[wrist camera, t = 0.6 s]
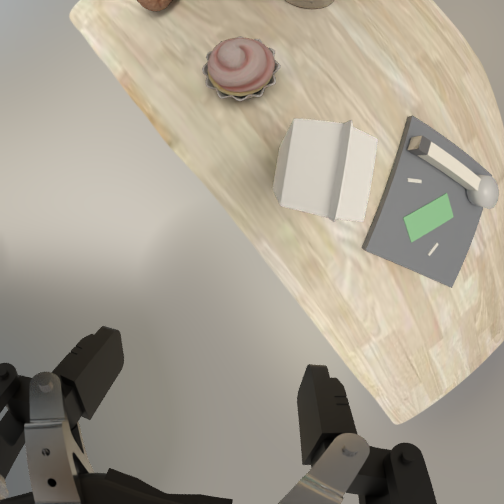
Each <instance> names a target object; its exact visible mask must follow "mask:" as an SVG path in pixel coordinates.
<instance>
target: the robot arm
mask: <svg viewBox="0 0 504 504" xmlns="http://www.w3.org/2000/svg"><path fill="white" fill-rule="evenodd" d="M286 1H287V2H289V3H291V4H293V5H296V6H298V7H303V8H310V9H317V8H323V7H326V6H328V5H330V4H331V3H332V2H333V1H334V0H286ZM123 364H124V354H123V348H122V342H121V334H120V332H119V331H118V330H116V329H112V328H108V327H105V326H102V327H101V328H100V329H99V330H98V331H97V332H96V334H95V335H93V334H90V335H88V336H86V337H84V338H83V339H82V340H80V342H79V343H78V344H77V345H76V347H74V348H73V349H72V350H71V353H69V354H68V355H67V356H66V357H65V358H64V359H63V360H62V361H61V362H60V364H59V365H58V366H57V367H56V368H55V369H54V370H53V372H41V373H38V374H36V375H35V376H34V377H33V378H30V377H25V376H20V375H18V374H17V371H16V369H15V367H14V366H13V365H11V364H9V363H1V364H0V412H1V411H2V410H3V408H4V407H5V406H6V407H7V408H8V411H7V413H6V414H5V416H4V417H3V418H2V420H1V421H0V504H232V499H226V498H219V497H212V496H206V495H201V494H197V495H195V494H192V495H191V494H188V495H187V494H167V493H164V492H162V491H160V490H158V489H156V488H154V487H152V486H150V485H148V484H146V483H145V482H143V481H141V480H139V479H138V478H135V477H132V476H130V475H127V474H124V473H121V472H119V471H116V470H114V469H111V468H109V470H108V472H107V474H105V473H94V471H93V468H92V466H91V464H90V462H89V460H88V457H87V453H86V450H85V446H84V442H83V438H82V433H81V429H80V425H79V422H78V420H79V419H80V417H81V416H82V417H84V418H87V419H89V420H90V419H91V418H92V416H93V414H94V413H95V411H96V409H97V408H98V406H99V405H100V403H101V401H102V400H103V398H104V397H105V395H106V393H107V392H108V390H109V389H110V387H111V385H112V384H113V382H114V381H115V379H116V378H117V376H118V374H119V373H120V371H121V370H122V367H123ZM297 405H298V416H299V425H300V426H299V427H300V437H301V438H300V439H301V451H302V464H303V465H311V469H310V471H309V472H308V473H307V474H306V475H305V476H304V477H303V478H302V479H301V480H300V481H299V482H298V483H297V484H296V485H295V486H294V487H293V489H292V490H291V491H290V492H289V493H288V494H287V495H286V496H285V497H284V498H283V499H282V500H281V501H280V502H279V503H278V504H341V502H342V501H343V495H344V494H345V492H346V493H352V494H358V496H359V504H437V503H436V499H435V495H434V491H433V488H432V484H431V481H430V477H429V475H428V471H427V468H426V464H425V461H424V458H423V455H422V453H421V451H420V450H419V449H418V448H417V447H416V446H415V445H413V444H410V443H400V444H398V445H396V446H395V447H394V448H393V449H392V450H387V449H380V448H375V447H372V446H369V445H368V443H367V441H366V440H365V439H364V438H363V437H361V436H359V435H358V434H357V431H356V428H355V424H354V420H353V417H352V413H351V409H350V406H349V402H348V399H347V398H346V392H345V389H344V386H343V385H342V384H341V383H340V381H339V380H338V379H337V378H330V377H329V372H328V369H327V366H324V365H310V364H309V365H308V366H307V368H306V371H305V374H304V377H303V380H302V382H301V385H300V388H299V391H298V397H297ZM24 444H25V445H26V454H27V462H28V469H29V475H30V481H31V486H32V492H29V493H26V494H22V495H18V496H14V497H11V498H6V497H7V496H8V494H9V492H8V490H7V488H6V482H5V478H6V476H7V474H8V473H9V471H10V469H11V467H12V465H13V463H14V461H15V459H16V458H17V456H18V454H19V452H20V450H21V449H22V447H23V445H24ZM5 498H6V499H5Z"/></svg>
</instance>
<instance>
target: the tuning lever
mask: <svg viewBox="0 0 504 504" xmlns="http://www.w3.org/2000/svg"><path fill="white" fill-rule="evenodd" d="M408 151H409V152H411V153H413V154H414V155H417V156H419V157H420V158H422V159H423V160H425V161H427V162H428V163H430V164H431V165H433V166H434V167H436V168H437V169H439V170H440V171H442V172H443V173H445V174H446V175H448V176H449V177H451V178H452V179H453V180H455V181H456V182H458V183H459V184H460V185H462V186H463V187H464V188H466V189H467V196H468V199H469V201H470V202H471V203H472V204H473V205H476V206H480V207H484V208H488V209H491V208H493V207H494V206H495V205H496V203H497V201H498V196H499V189H498V185H497V182H496V180H495V179H494V178H493V177H492V176H486V175H477V174H474V173H473V172H472V171H471V170H470V169H468V168H467V167H466V166H464V165H463V164H462V163H461V162H459V161H458V160H457V159H455V158H454V157H453V156H451V155H450V154H448V153H447V152H446V151H444V150H443V149H441V148H440V147H438V146H437V145H436V144H434V143H433V142H431V141H430V140H429V139H427V138H426V137H424V136H423V135H421V136H415V137H411V140H410V143H409V147H408Z"/></svg>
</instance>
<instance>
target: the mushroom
mask: <svg viewBox="0 0 504 504" xmlns="http://www.w3.org/2000/svg"><path fill="white" fill-rule="evenodd" d="M137 1H138V2H139V3H140V4H141V5H142V6H143V7H144V8H146V9H148V10H151V11H160V10H163V9H165V8H166V7H167V6H168V5H169V4H170V3H171V1H172V0H137Z"/></svg>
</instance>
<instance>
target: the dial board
mask: <svg viewBox="0 0 504 504" xmlns="http://www.w3.org/2000/svg"><path fill="white" fill-rule="evenodd" d="M421 135H423V136H424V137H426V138H427V139H429V140H430V141H431V142H433V143H434V144H436V145H437V146H438V147H440V148H441V149H443V150H444V151H446V152H447V153H448V154H450V155H451V156H453V157H454V158H455V159H457V160H458V161H459V162H461V163H462V164H463V165H464V166H466V167H467V168H468V169H470V170H471V171H472V172H473V173H474V174H477V175H486V176H492V175H491V174H490V173H489V172H488V171H487V170H486V169H484V168H483V167H482V166H481V165H480V164H479V163H477V162H476V161H475V160H474V159H473V158H471V157H470V156H469V155H468V154H466V153H465V152H464V151H463V150H461V149H460V148H459V147H458V146H456V145H455V144H454V143H452V142H451V141H450V140H448V139H447V138H445V137H444V136H443V135H441V134H440V133H438V132H437V131H435V130H434V129H433V128H431V127H430V126H428V125H427V124H425V123H423V122H422V121H420V120H419V119H417V118H416V117H414V116H410V117H408V118H407V122H406V125H405V129H404V132H403V136H402V139H401V143H400V146H399V149H398V152H397V156H396V159H395V162H394V165H393V168H392V171H391V174H390V177H389V180H388V183H387V185H386V188H385V191H384V194H383V196H382V199H381V202H380V204H379V207H378V210H377V212H376V215H375V217H374V220H373V222H372V225H371V227H370V230H369V232H368V235H367V237H366V240H365V242H364V244H363V247H362V248H363V249H364V250H365V251H367V252H370V253H372V254H375V255H377V256H380V257H382V258H385V259H387V260H389V261H392V262H394V263H396V264H399V265H401V266H403V267H406V268H408V269H410V270H413V271H415V272H417V273H420V274H422V275H424V276H426V277H429V278H431V279H433V280H435V281H438V282H440V283H442V284H444V285H447V286H449V287H451V288H452V286H453V284H454V282H455V280H456V278H457V275H458V273H459V271H460V269H461V267H462V264H463V262H464V259H465V257H466V255H467V252H468V250H469V247H470V245H471V242H472V239H473V237H474V234H475V231H476V228H477V225H478V222H479V219H480V216H481V213H482V210H483V207H480V206H476V205H473V204H472V203H471V202H470V201H469V199H468V196H467V189H466V188H464V187H463V186H462V185H460V184H459V183H458V182H456V181H455V180H453V179H452V178H451V177H449V176H448V175H446V174H445V173H443V172H442V171H440V170H439V169H437V168H436V167H434V166H433V165H431V164H430V163H428V162H427V161H425V160H423V159H422V158H420V157H419V156H417V155H414V154H413V153H411V152H409V151H408V147H409V143H410V140H411V137H415V136H421Z"/></svg>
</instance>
